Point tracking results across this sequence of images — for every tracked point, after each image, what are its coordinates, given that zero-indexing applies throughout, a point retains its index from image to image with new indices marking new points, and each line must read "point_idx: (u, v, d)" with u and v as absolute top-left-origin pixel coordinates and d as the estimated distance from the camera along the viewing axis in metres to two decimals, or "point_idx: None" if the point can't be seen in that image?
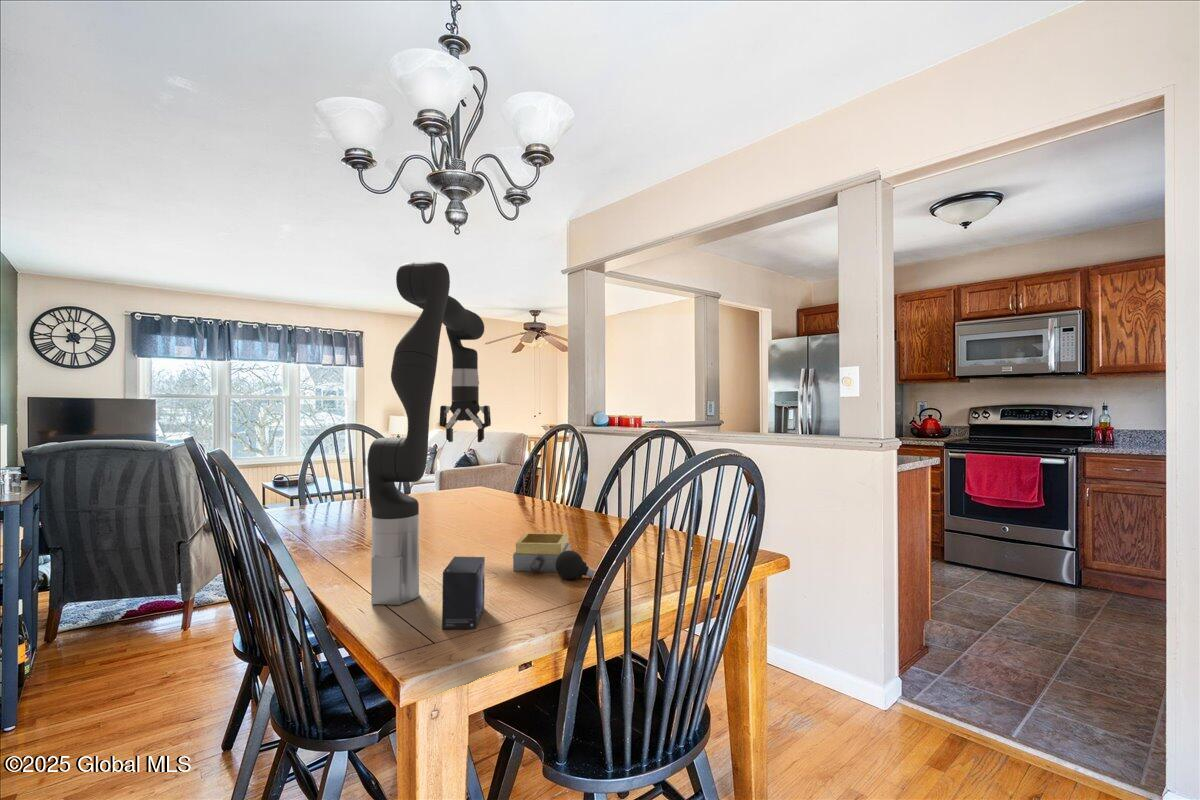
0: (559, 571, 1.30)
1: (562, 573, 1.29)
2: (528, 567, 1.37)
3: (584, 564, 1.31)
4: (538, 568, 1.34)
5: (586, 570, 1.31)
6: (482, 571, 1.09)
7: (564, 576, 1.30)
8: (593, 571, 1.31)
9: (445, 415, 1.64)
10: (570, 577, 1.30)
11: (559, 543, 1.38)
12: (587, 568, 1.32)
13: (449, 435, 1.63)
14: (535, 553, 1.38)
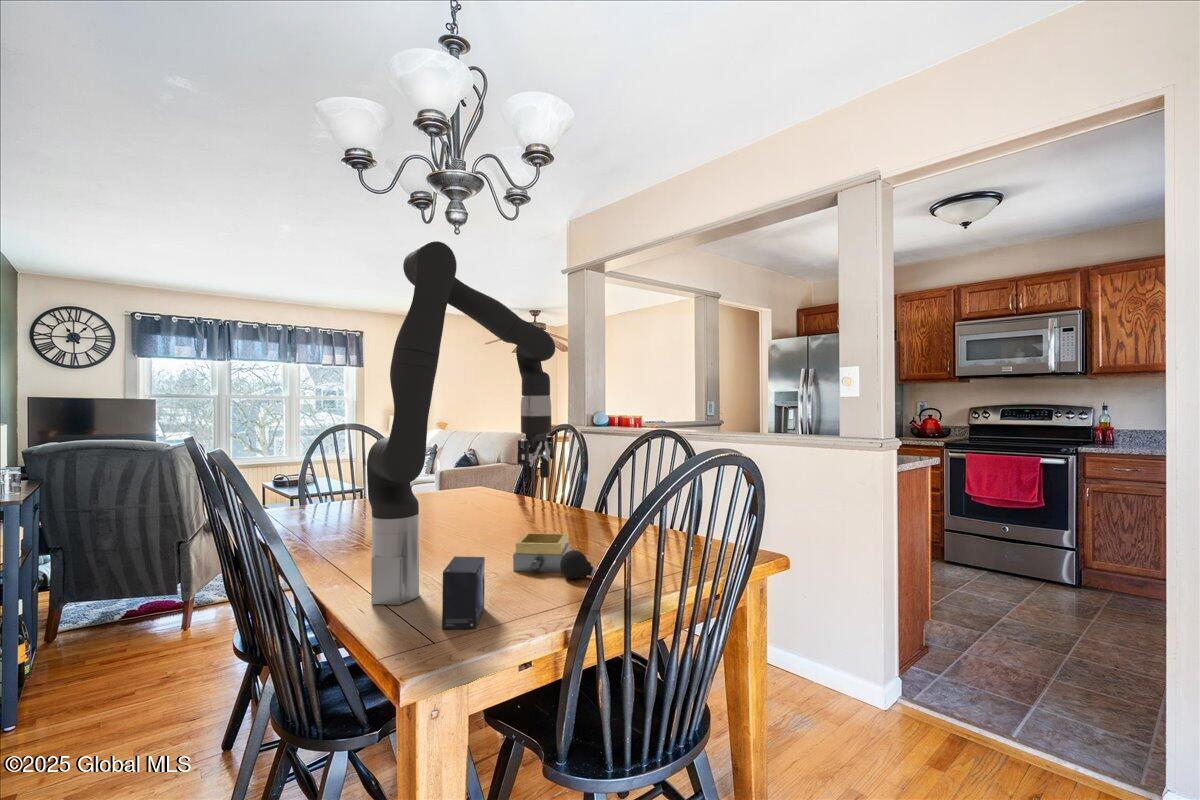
0: (564, 571, 1.30)
1: (567, 573, 1.29)
2: (528, 567, 1.37)
3: (589, 564, 1.31)
4: (538, 568, 1.34)
5: (591, 569, 1.31)
6: (482, 571, 1.09)
7: (569, 576, 1.30)
8: None
9: None
10: (575, 577, 1.30)
11: (559, 543, 1.38)
12: (592, 568, 1.32)
13: (532, 474, 1.37)
14: (535, 553, 1.38)
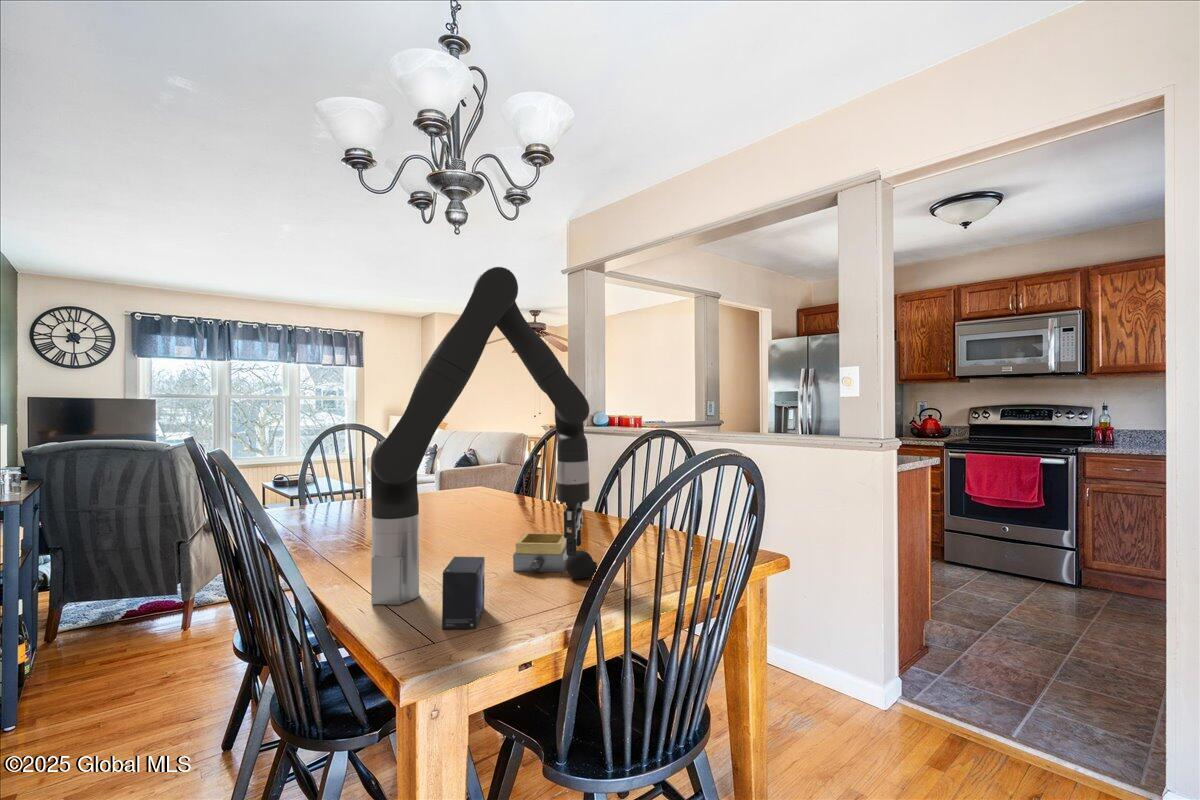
0: (569, 571, 1.30)
1: (573, 573, 1.29)
2: (528, 567, 1.37)
3: (594, 564, 1.31)
4: (538, 568, 1.34)
5: None
6: (482, 571, 1.09)
7: (575, 576, 1.30)
8: None
9: None
10: (581, 577, 1.30)
11: (559, 543, 1.38)
12: None
13: (576, 547, 1.28)
14: (535, 553, 1.38)
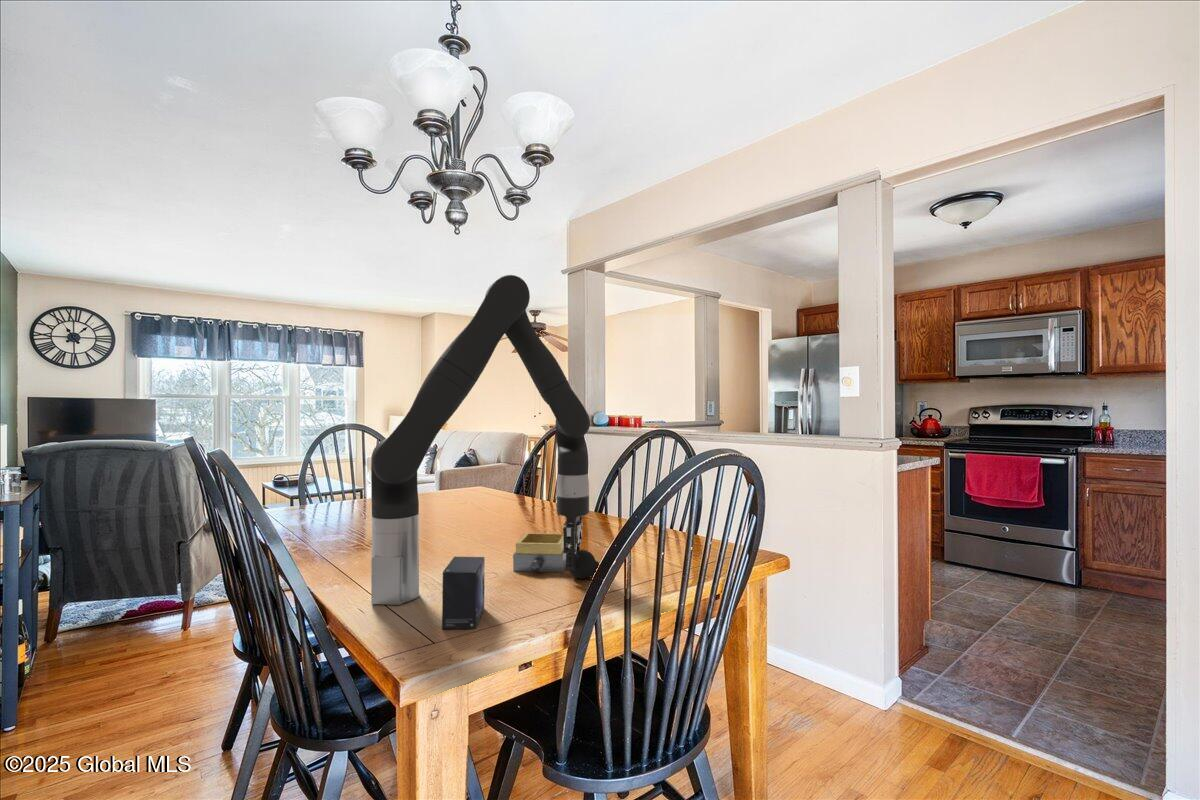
0: None
1: (575, 573, 1.29)
2: (528, 567, 1.37)
3: (597, 563, 1.31)
4: (538, 568, 1.34)
5: None
6: (482, 571, 1.09)
7: (577, 575, 1.30)
8: None
9: None
10: (583, 576, 1.30)
11: (559, 543, 1.38)
12: None
13: (575, 562, 1.29)
14: (535, 553, 1.38)
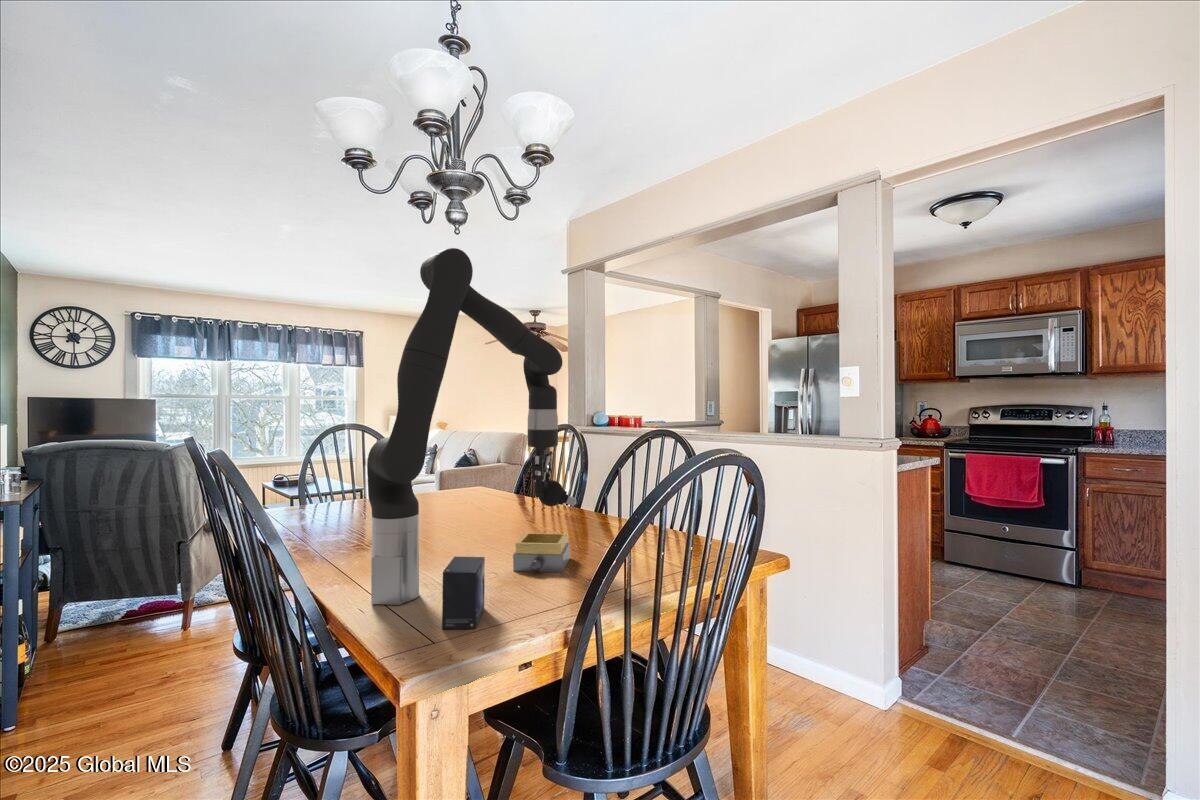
0: (541, 498, 1.40)
1: (544, 500, 1.40)
2: (528, 567, 1.37)
3: (564, 492, 1.42)
4: (538, 568, 1.34)
5: (566, 497, 1.42)
6: (482, 571, 1.09)
7: (546, 502, 1.40)
8: (573, 499, 1.42)
9: None
10: (551, 503, 1.40)
11: (559, 543, 1.38)
12: (567, 496, 1.42)
13: (544, 489, 1.39)
14: (535, 553, 1.38)
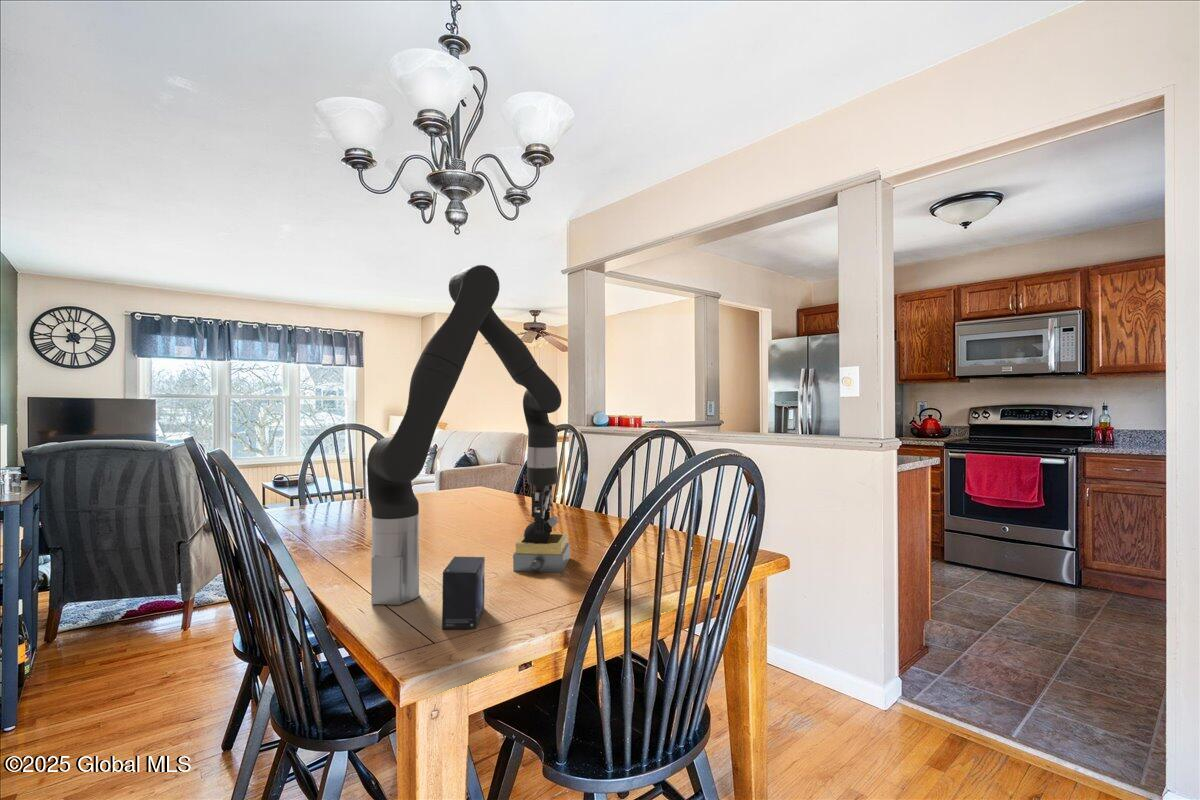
0: None
1: None
2: (528, 567, 1.37)
3: None
4: (538, 568, 1.34)
5: (547, 524, 1.41)
6: (482, 571, 1.09)
7: None
8: (552, 519, 1.41)
9: None
10: (544, 541, 1.40)
11: (559, 543, 1.38)
12: (547, 522, 1.41)
13: (543, 526, 1.39)
14: (535, 553, 1.38)
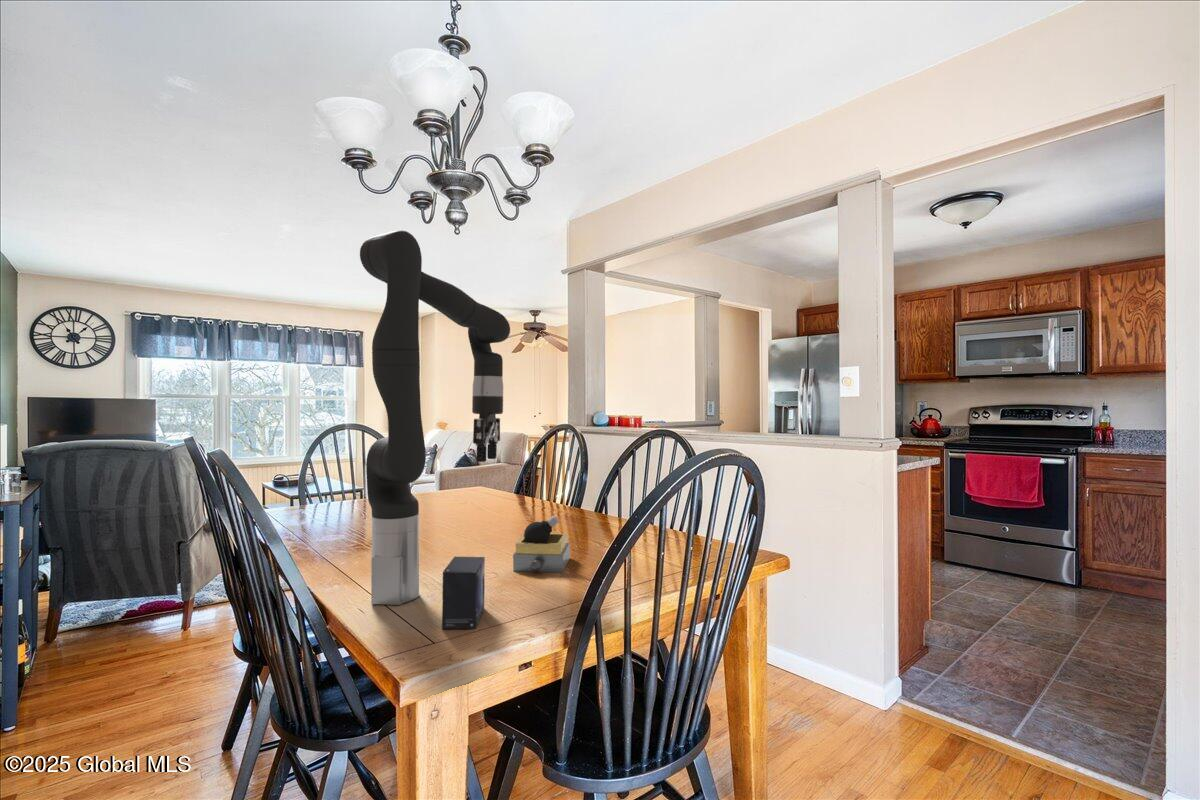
0: None
1: None
2: (528, 567, 1.37)
3: (542, 523, 1.41)
4: (538, 568, 1.34)
5: (547, 524, 1.41)
6: (482, 571, 1.09)
7: None
8: (552, 519, 1.41)
9: None
10: (544, 541, 1.40)
11: (559, 543, 1.38)
12: (547, 522, 1.41)
13: None
14: (535, 553, 1.38)
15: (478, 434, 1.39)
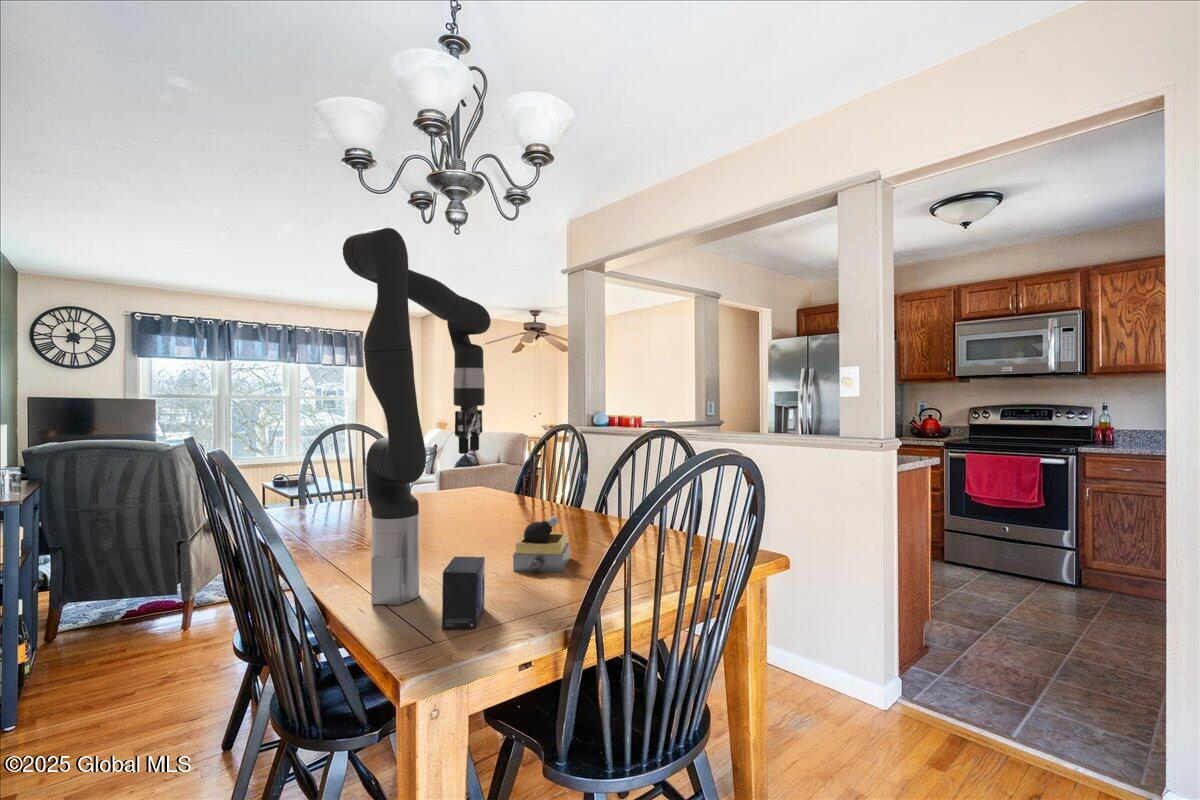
0: None
1: None
2: (528, 567, 1.37)
3: (542, 523, 1.41)
4: (538, 568, 1.34)
5: (547, 524, 1.41)
6: (482, 571, 1.09)
7: None
8: (552, 519, 1.41)
9: None
10: (544, 541, 1.40)
11: (559, 543, 1.38)
12: (547, 522, 1.41)
13: (468, 445, 1.38)
14: (535, 553, 1.38)
15: (460, 426, 1.39)
